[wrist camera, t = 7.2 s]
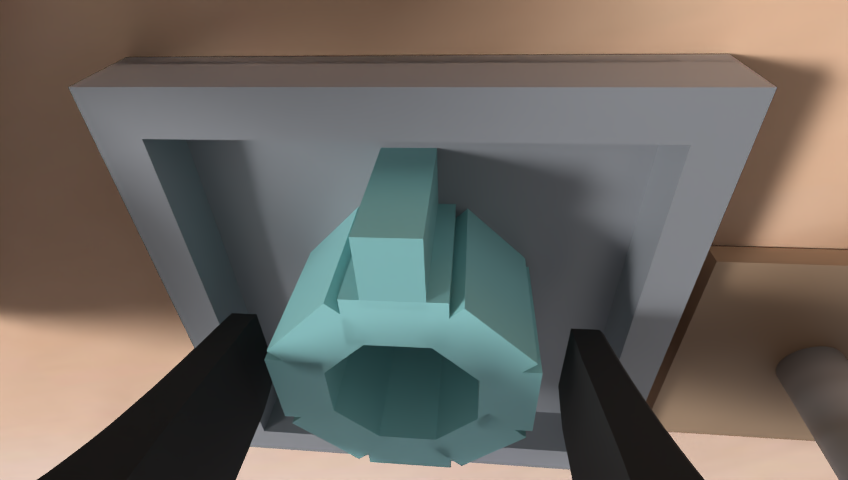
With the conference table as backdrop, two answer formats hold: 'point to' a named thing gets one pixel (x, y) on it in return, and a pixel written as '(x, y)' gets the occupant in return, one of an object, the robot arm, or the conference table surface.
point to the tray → (457, 183)
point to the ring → (410, 328)
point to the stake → (762, 350)
